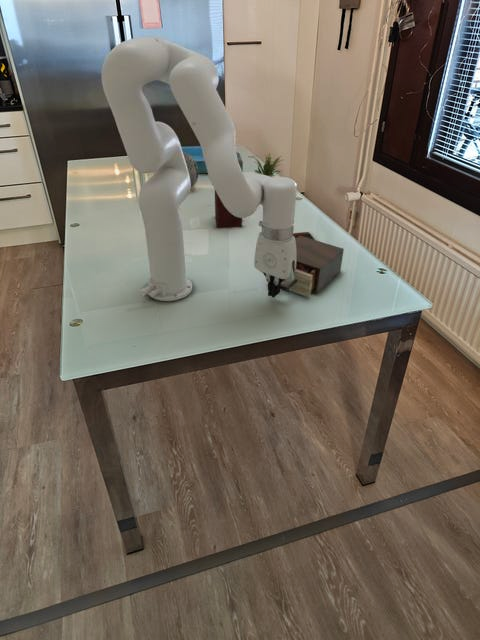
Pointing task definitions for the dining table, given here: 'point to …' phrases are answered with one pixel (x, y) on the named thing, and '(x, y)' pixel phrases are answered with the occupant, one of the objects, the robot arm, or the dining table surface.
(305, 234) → the smartphone
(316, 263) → the cabinet
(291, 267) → the robot arm
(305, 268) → the donut
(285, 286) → the drawer
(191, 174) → the decorative egg
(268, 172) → the house plant
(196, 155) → the casserole dish
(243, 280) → the dining table surface
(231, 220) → the toy vending machine
